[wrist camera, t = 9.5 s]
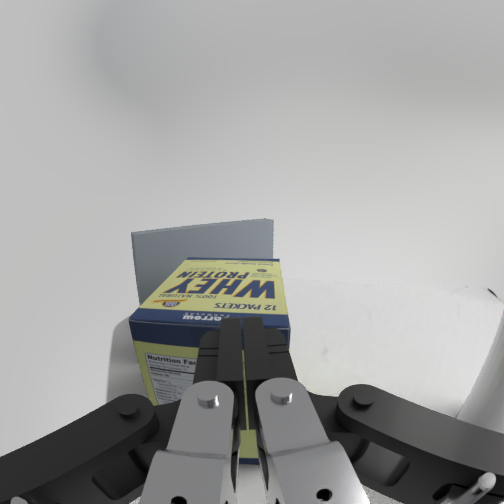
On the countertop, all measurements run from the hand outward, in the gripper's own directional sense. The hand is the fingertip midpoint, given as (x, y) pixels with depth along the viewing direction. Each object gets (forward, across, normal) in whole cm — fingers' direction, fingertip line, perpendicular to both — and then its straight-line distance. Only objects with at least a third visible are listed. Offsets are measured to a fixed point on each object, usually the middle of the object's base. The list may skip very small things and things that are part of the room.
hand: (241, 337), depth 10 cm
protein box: (+12, +2, +18) cm, 22 cm away
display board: (+28, +5, +18) cm, 34 cm away
